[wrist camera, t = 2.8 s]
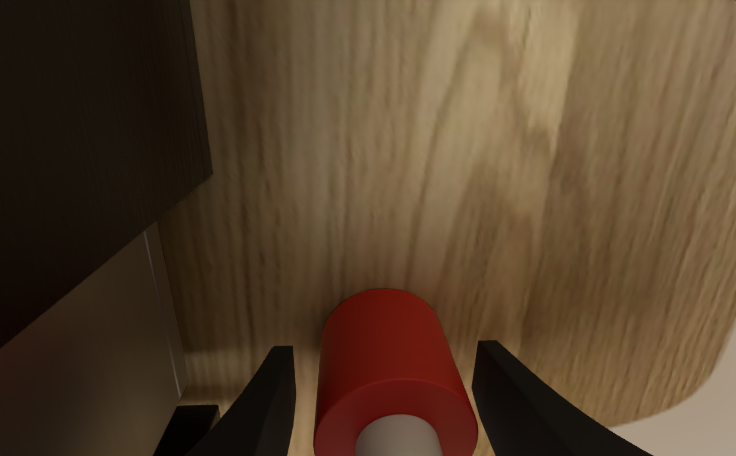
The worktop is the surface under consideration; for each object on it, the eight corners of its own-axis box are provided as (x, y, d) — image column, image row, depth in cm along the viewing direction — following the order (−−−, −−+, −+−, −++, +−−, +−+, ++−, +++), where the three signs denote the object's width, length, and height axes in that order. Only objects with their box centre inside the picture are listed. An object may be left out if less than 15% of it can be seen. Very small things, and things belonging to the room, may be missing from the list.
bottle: (436, 385, 15) (483, 542, 10) (323, 389, 15) (313, 551, 10) (446, 286, 14) (507, 415, 9) (319, 289, 13) (304, 423, 8)
